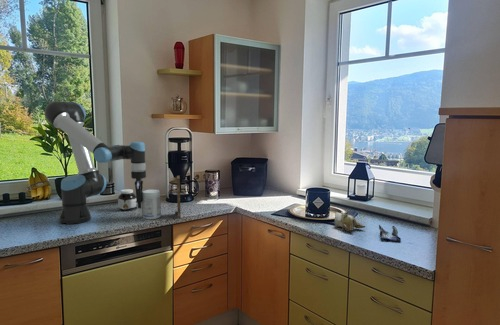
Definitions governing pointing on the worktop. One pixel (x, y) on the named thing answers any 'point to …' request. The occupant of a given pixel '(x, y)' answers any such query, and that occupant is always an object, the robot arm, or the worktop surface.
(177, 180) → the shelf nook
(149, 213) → the supplement tub
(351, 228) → the ceramic sculpture
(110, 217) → the worktop surface
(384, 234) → the twin peaked rock
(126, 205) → the spread jar
